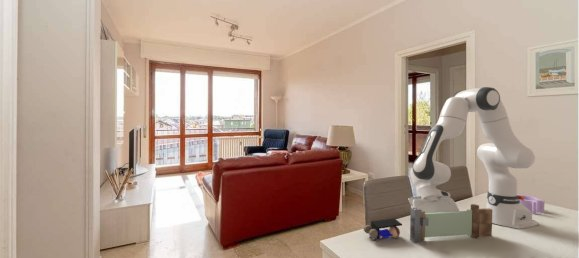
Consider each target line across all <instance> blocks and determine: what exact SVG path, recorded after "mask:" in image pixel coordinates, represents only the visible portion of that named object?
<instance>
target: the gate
mask: <svg viewBox="0 0 579 258" xmlns="http://www.w3.org/2000/svg"><path fill="white" fill-rule="evenodd" d="M421 218H428V219H429V220H428V226H422V225H421V242H423V241H425V238H434V237H435V238H436V237H437V238H438V237H446V236H447V237H452V236H453V237H454V236H469V237H470V236H471V235H472V210H471V209H466V210H459V211H455V212H437V213H425V211H422V215H421Z"/></svg>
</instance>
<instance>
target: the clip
mask: <svg viewBox="0 0 579 258" xmlns="http://www.w3.org/2000/svg"><path fill="white" fill-rule="evenodd" d="M517 195H518V196H519V195H520V196H524V197H525V198H524V200H521V199H519V200H520V203H521V204H522V205H523V206H525V207H526V208H527V209H529V210H530V211H531V213H532V215H534V214H536V213H538V212H540V213H539V214H545V200H543V199H540V198H538V197H535V196H531V195H526V194H518V193H517ZM536 215H537V214H536Z"/></svg>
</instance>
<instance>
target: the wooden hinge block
mask: <svg viewBox="0 0 579 258" xmlns="http://www.w3.org/2000/svg"><path fill="white" fill-rule="evenodd" d="M470 210H472V235H471V236H469V237H470V238H472V239H479V238H486V237H487V238H488V237H492V235H493V223H492V209H490V208H486V207H485V208H480V205H479V204H475V203H474V204H473V203H471V204H470Z"/></svg>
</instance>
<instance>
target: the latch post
mask: <svg viewBox="0 0 579 258" xmlns="http://www.w3.org/2000/svg"><path fill="white" fill-rule="evenodd" d="M409 214H410V218H409V219H410V222H409V224H410V227H409V230H410V231H409V232H410V233H409V241H410V242H412V243H413V244H421V243H422V241H421V225H422V226H428V220H429V219H428V218H421V215H422V210H421V209H419V208H417V207H415V208H411V207H410V213H409Z"/></svg>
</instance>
